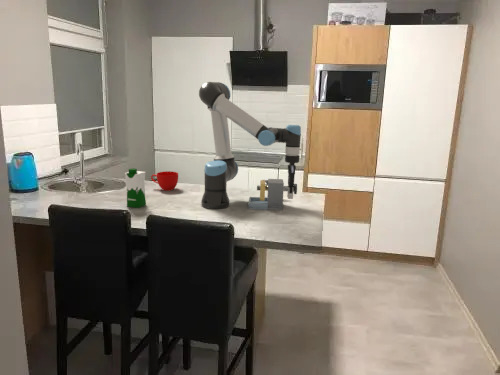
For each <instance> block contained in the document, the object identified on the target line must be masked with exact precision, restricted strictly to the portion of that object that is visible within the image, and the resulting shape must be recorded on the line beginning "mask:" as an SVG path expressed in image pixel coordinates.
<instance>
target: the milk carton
mask: <svg viewBox="0 0 500 375" xmlns="http://www.w3.org/2000/svg"><path fill="white" fill-rule="evenodd" d="M146 173H147V172H146V171H140V170H138V169H137V168H133V167H132V168H128V171H127V172H124V178H125V183H126V184H125V185H126V186H125V187H126V207H127V208H136V209H140V208H142V207H144V206H146V205H147V200H146V187H145V185H146V184H145V178H146Z"/></svg>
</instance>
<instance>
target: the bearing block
mask: <svg viewBox="0 0 500 375" xmlns="http://www.w3.org/2000/svg"><path fill="white" fill-rule="evenodd" d="M267 180H268V191H267V204H268V209H266V210H267V211H268V210H269V211H270V210H271V211H283V209H284V208H283V207H284V206H283V205H284V204H283V203H284V191H283V189H284V186H285V182H284V179H282V178H268V179H267Z"/></svg>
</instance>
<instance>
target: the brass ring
mask: <svg viewBox="0 0 500 375" xmlns="http://www.w3.org/2000/svg"><path fill="white" fill-rule="evenodd" d="M265 180H266V179H261V180H260V181H261V182H260V184H259V185H260V190H259V197H260V200H261V201H265V197H266V196H265V195H266V191H265V184H266V182H265Z"/></svg>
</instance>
